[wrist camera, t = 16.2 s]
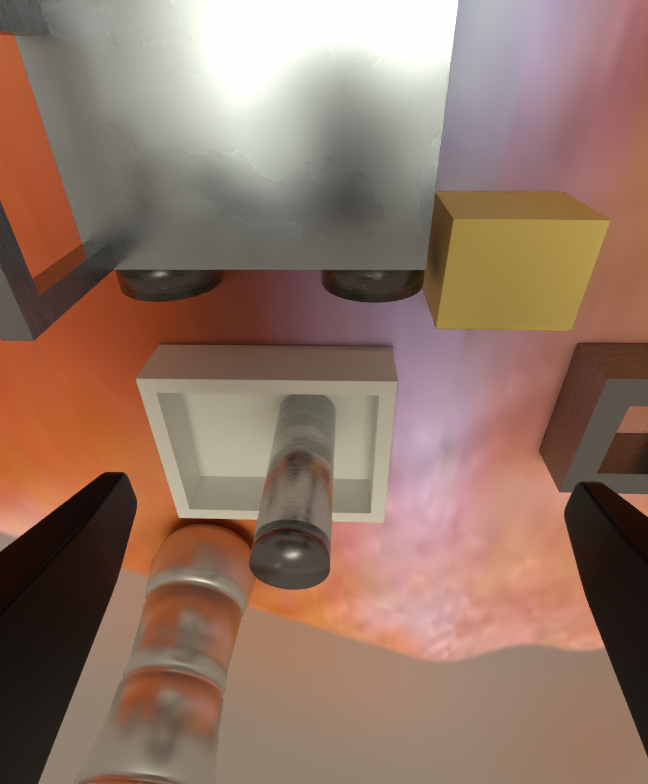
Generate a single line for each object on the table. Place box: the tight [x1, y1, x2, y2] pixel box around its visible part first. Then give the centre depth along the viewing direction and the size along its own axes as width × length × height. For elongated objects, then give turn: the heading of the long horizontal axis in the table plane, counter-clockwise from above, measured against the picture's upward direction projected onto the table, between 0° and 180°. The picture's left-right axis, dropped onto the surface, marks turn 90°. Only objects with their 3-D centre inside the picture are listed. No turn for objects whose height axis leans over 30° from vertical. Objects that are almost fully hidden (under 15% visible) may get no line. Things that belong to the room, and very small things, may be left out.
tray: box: [136, 344, 398, 523], centre depth 24 cm, size 12×10×3 cm
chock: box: [422, 191, 611, 331], centre depth 17 cm, size 5×4×4 cm
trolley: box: [0, 0, 458, 341], centre depth 13 cm, size 12×10×10 cm
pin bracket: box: [539, 343, 648, 494], centre depth 22 cm, size 7×7×3 cm
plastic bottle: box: [74, 524, 255, 784], centre depth 24 cm, size 6×7×20 cm
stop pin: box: [249, 394, 336, 590], centre depth 20 cm, size 3×3×9 cm
